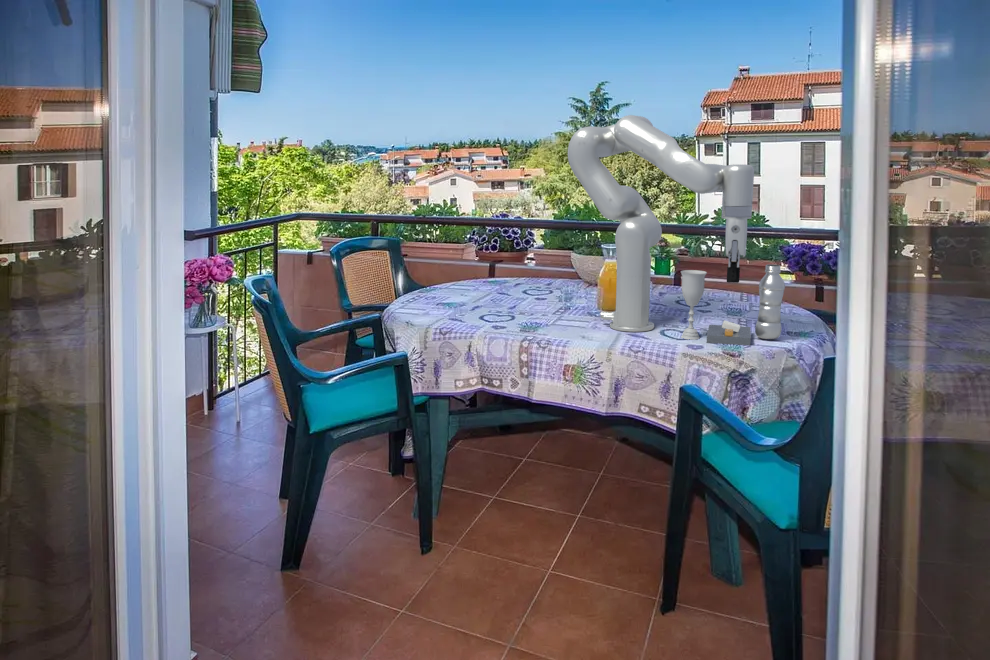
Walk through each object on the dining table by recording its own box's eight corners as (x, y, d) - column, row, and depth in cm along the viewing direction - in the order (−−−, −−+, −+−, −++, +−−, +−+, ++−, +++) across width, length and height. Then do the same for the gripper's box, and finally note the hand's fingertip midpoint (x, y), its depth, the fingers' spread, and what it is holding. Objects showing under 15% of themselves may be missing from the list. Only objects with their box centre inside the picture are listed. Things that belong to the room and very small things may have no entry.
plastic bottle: (759, 335, 210) (764, 263, 206) (784, 338, 206) (790, 265, 201) (750, 339, 205) (755, 265, 201) (776, 343, 201) (781, 267, 196)
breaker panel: (706, 342, 202) (707, 330, 201) (709, 331, 215) (709, 320, 214) (750, 345, 198) (751, 333, 198) (750, 333, 211) (750, 322, 211)
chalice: (708, 339, 205) (711, 273, 201) (684, 341, 204) (688, 274, 200) (695, 333, 212) (699, 269, 208) (673, 335, 211) (675, 270, 207)
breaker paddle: (721, 327, 205) (723, 322, 205) (722, 324, 208) (723, 320, 207) (738, 332, 204) (739, 327, 203) (738, 329, 207) (739, 325, 206)
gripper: (751, 214, 191) (747, 287, 195) (751, 211, 205) (747, 278, 209) (720, 214, 193) (717, 286, 197) (722, 210, 207) (719, 277, 211)
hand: (732, 282), depth 203 cm, fingers closed
